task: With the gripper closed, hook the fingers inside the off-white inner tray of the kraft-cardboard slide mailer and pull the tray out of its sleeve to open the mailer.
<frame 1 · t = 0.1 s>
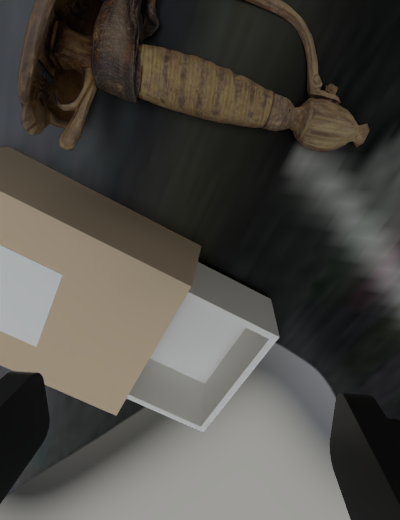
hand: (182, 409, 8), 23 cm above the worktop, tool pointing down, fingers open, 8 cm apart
sword hilt: (220, 86, 25), on the worktop
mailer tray: (150, 324, 30), point 4 cm above the worktop, slide at 9.0 cm
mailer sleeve: (83, 264, 33), on the worktop
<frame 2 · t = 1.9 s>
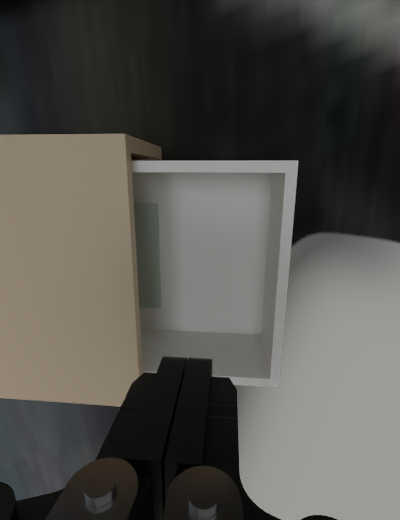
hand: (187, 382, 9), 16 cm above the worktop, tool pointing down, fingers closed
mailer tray: (137, 265, 21), point 4 cm above the worktop, slide at 9.0 cm
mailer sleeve: (47, 248, 26), on the worktop
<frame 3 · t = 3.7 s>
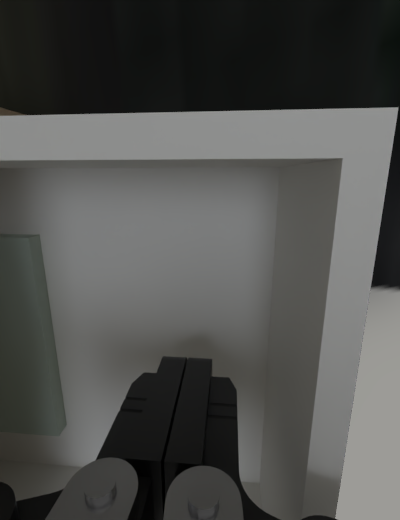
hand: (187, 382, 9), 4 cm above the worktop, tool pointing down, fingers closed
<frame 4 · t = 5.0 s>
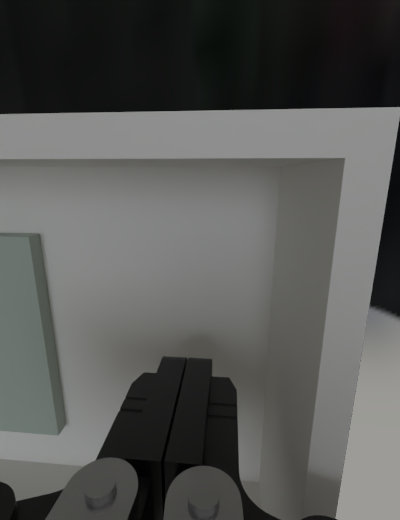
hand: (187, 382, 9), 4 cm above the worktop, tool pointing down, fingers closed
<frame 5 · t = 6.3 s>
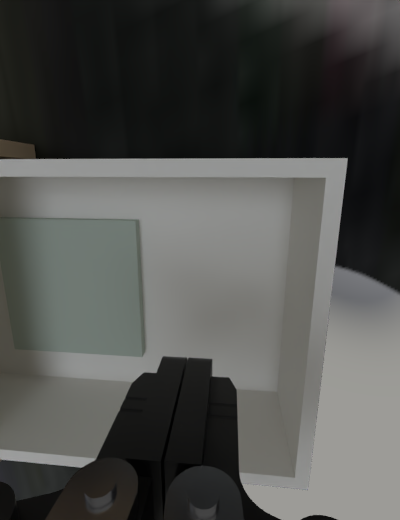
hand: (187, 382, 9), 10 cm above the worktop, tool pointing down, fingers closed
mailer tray: (108, 305, 15), point 4 cm above the worktop, slide at 15.5 cm
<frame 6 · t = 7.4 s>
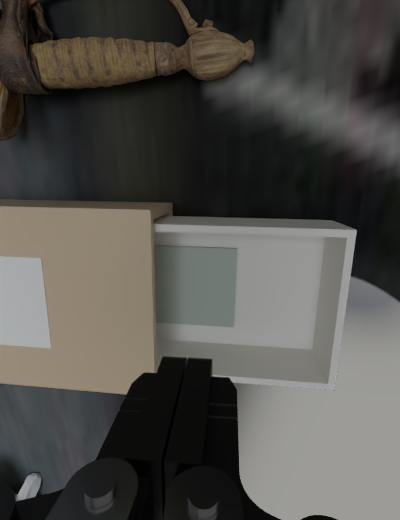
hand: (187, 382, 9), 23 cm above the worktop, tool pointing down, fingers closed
sword hilt: (121, 66, 29), on the worktop
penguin: (21, 489, 43), on the worktop
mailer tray: (224, 295, 28), point 4 cm above the worktop, slide at 15.5 cm
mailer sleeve: (83, 274, 34), on the worktop
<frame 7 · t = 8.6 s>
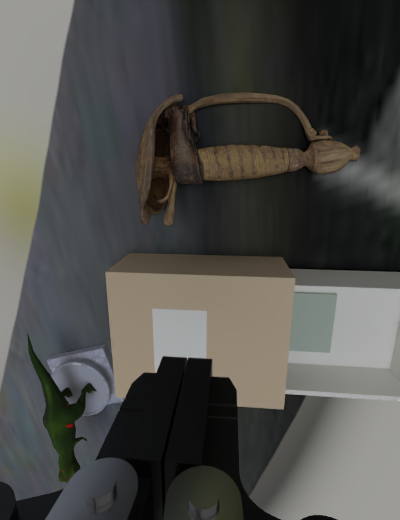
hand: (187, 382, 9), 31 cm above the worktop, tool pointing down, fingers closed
sword hilt: (247, 155, 37), on the worktop
dinosaur figurine: (86, 365, 47), on the worktop
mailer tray: (329, 331, 37), point 4 cm above the worktop, slide at 15.5 cm
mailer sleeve: (203, 311, 43), on the worktop
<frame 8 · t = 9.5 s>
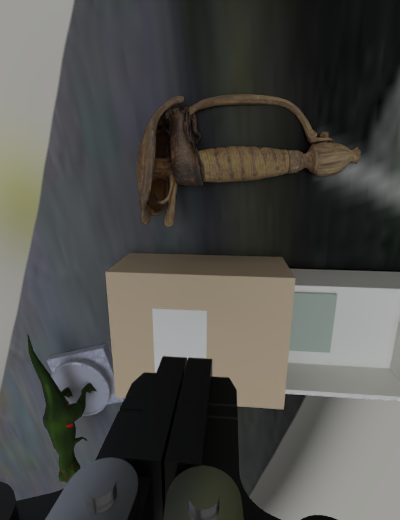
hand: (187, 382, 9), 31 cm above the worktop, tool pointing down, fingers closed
sword hilt: (248, 157, 37), on the worktop
dinosaur figurine: (86, 365, 47), on the worktop
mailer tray: (329, 331, 37), point 4 cm above the worktop, slide at 15.5 cm
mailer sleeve: (203, 311, 43), on the worktop
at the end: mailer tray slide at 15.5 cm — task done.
